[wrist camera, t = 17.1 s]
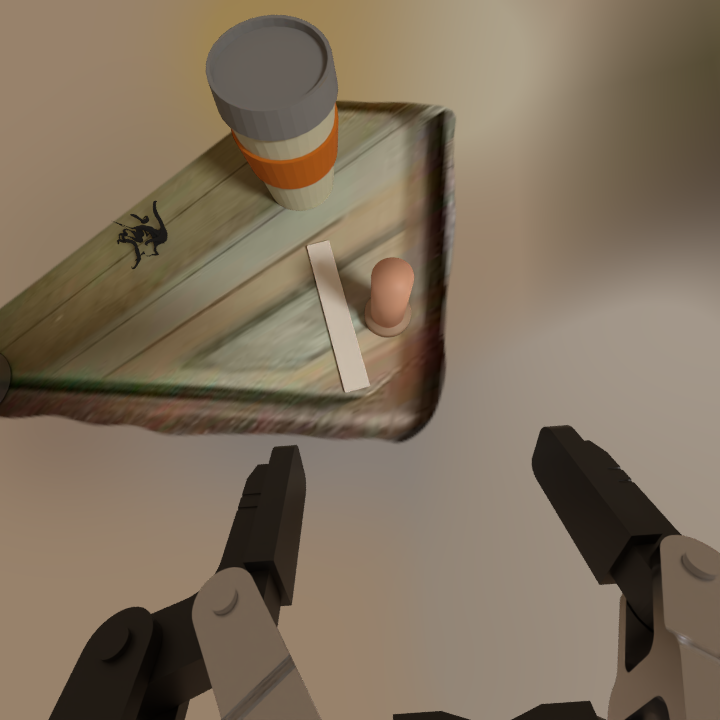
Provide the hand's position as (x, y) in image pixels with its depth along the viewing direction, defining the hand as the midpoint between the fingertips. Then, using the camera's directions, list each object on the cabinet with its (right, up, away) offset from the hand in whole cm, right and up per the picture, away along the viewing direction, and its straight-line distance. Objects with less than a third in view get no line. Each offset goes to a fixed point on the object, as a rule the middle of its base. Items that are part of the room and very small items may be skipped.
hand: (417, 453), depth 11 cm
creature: (-30, +19, +33) cm, 49 cm away
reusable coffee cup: (-10, +28, +34) cm, 45 cm away
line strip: (-5, +9, +29) cm, 31 cm away
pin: (+1, +9, +29) cm, 30 cm away
